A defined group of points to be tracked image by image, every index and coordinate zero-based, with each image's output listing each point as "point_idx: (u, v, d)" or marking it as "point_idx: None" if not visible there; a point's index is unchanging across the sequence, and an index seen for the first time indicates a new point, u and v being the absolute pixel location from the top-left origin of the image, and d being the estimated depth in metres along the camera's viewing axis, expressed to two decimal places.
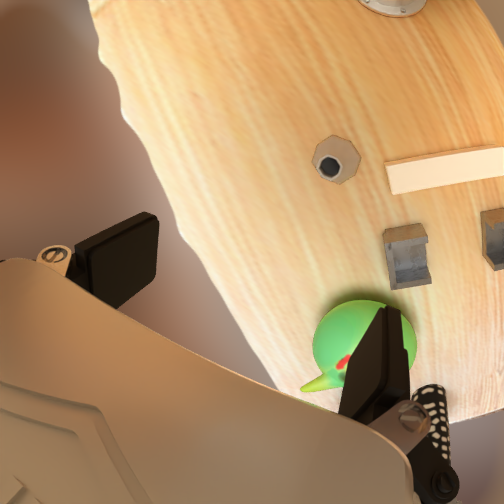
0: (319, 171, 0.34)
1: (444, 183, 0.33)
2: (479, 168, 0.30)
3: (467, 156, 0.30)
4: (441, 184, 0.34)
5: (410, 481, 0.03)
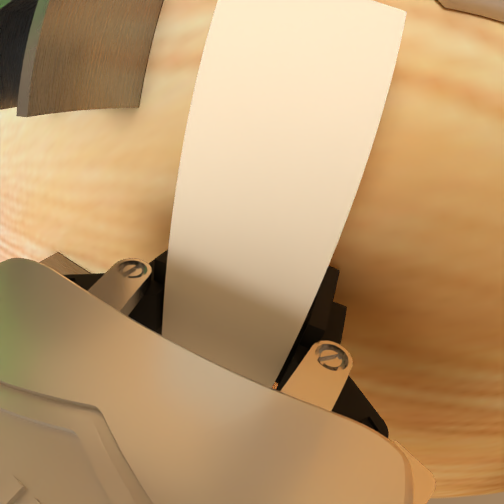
0: None
1: (173, 277, 0.08)
2: None
3: None
4: (173, 261, 0.08)
5: (410, 481, 0.03)
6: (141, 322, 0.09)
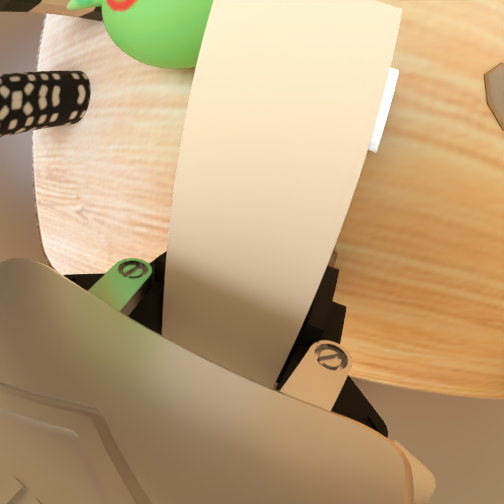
0: None
1: (172, 278, 0.08)
2: None
3: None
4: (171, 263, 0.08)
5: (410, 481, 0.03)
6: (141, 322, 0.09)
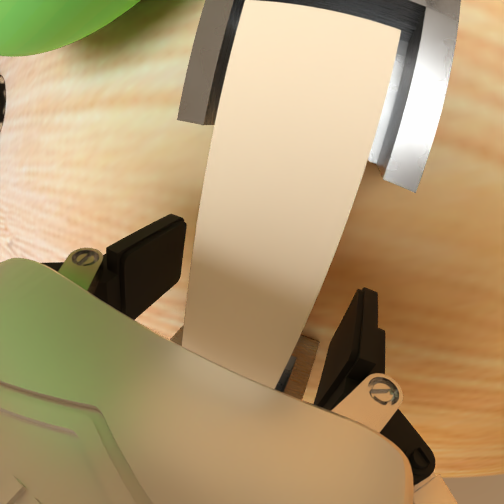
0: None
1: (198, 261, 0.09)
2: None
3: None
4: (199, 247, 0.09)
5: (410, 481, 0.03)
6: None
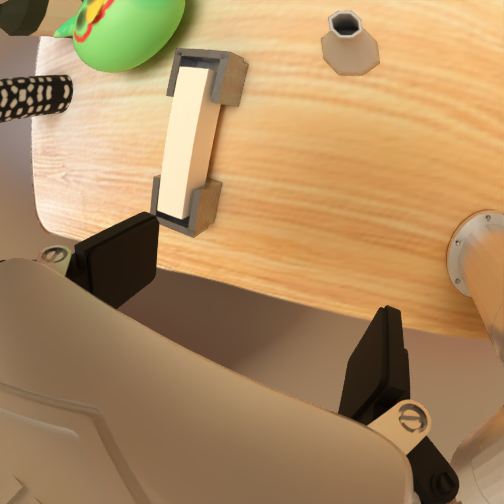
0: (346, 12, 0.19)
1: (169, 128, 0.33)
2: (170, 176, 0.36)
3: (184, 168, 0.34)
4: (169, 124, 0.33)
5: (410, 481, 0.03)
6: None
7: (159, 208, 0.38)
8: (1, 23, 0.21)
